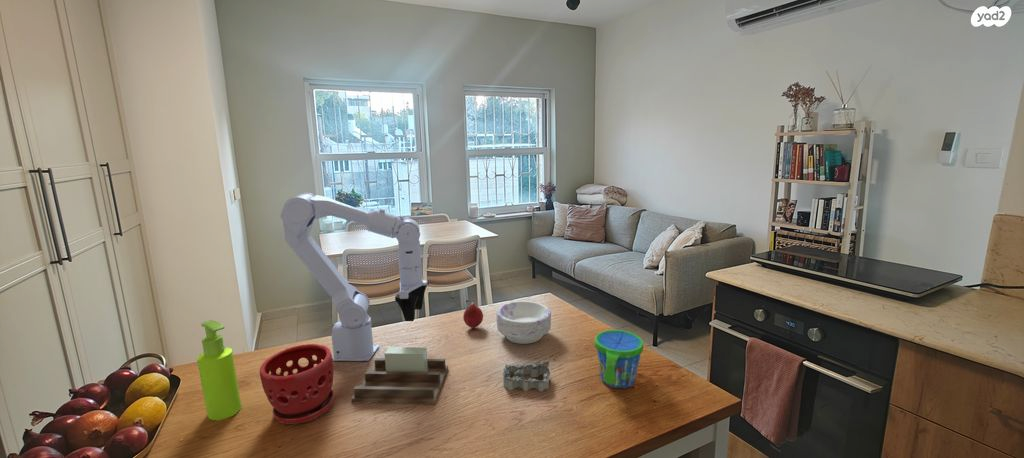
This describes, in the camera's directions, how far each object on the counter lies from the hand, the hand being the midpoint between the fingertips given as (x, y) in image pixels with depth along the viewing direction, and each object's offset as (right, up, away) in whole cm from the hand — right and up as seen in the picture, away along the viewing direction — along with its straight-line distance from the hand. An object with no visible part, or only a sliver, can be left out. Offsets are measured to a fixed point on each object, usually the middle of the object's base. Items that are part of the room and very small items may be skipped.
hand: (413, 314), depth 113 cm
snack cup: (+50, -12, -15) cm, 54 cm away
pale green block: (+1, -11, -13) cm, 17 cm away
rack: (+1, -13, -16) cm, 20 cm away
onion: (+15, -7, +13) cm, 21 cm away
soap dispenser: (-33, -16, -25) cm, 44 cm away
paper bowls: (+29, -8, +7) cm, 31 cm away
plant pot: (-17, -15, -24) cm, 34 cm away
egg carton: (+29, -13, -15) cm, 36 cm away
